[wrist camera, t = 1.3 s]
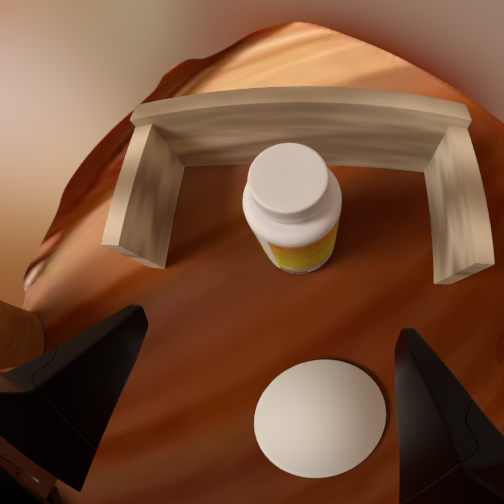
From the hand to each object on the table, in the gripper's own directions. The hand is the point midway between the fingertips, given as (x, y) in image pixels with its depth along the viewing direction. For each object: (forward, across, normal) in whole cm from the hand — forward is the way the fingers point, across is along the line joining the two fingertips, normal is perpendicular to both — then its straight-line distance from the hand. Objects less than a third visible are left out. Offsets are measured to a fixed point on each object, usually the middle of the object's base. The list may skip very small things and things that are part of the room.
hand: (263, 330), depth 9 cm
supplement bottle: (+14, 0, +4) cm, 15 cm away
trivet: (+4, -3, +14) cm, 15 cm away
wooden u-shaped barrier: (+16, 0, +2) cm, 16 cm away
